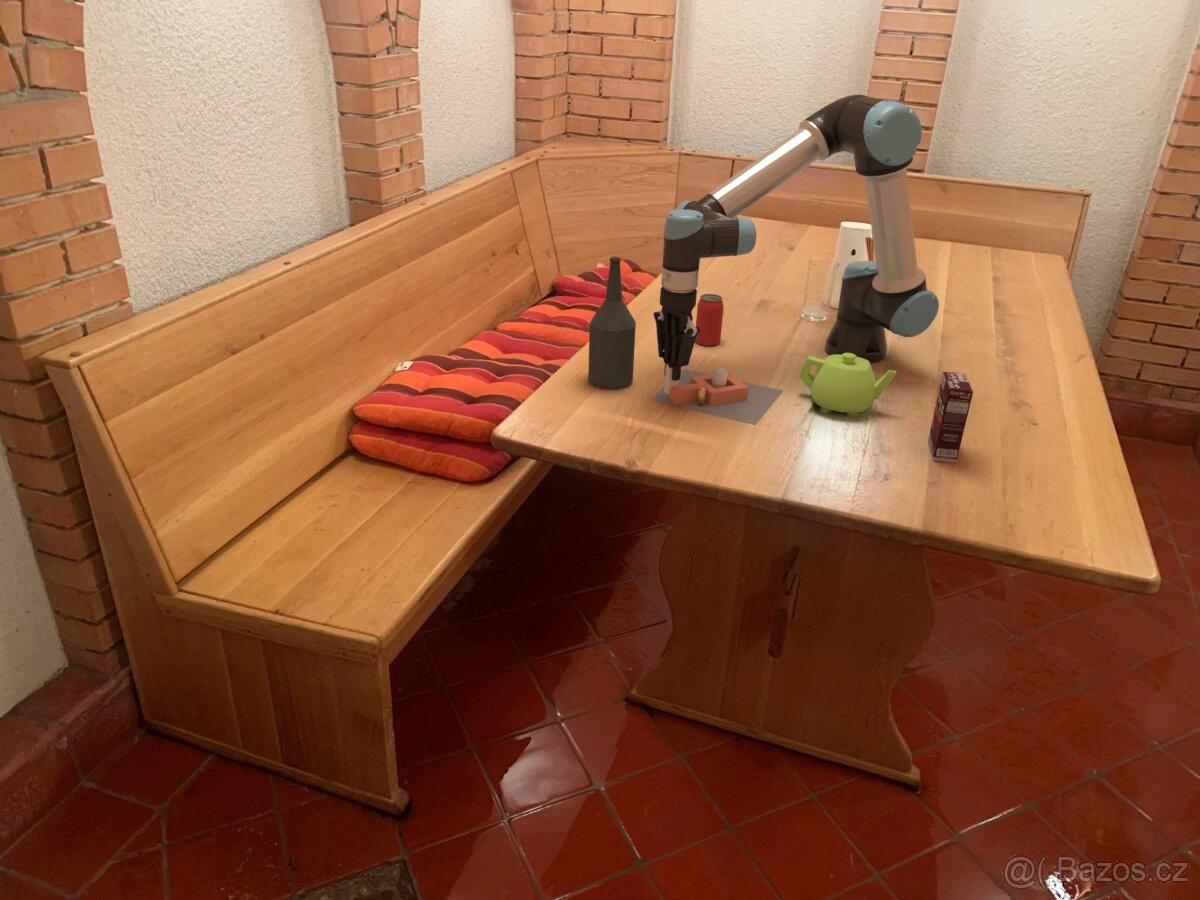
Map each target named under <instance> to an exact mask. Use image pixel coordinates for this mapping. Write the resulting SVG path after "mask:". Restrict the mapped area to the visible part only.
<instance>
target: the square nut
mask: <svg viewBox="0 0 1200 900" xmlns="http://www.w3.org/2000/svg"><path fill="white" fill-rule="evenodd" d="M707 374H708V375H702V376H696V377H691V381H690V385H683V386H677V387H671V388H670V397H669V400H670V401H671V402H672V403H673V404H674V405H675V404H681V403H687V402H693V401H698V390H699V387H700V386H703V387H706V396H705V402H706V403H707V404H709V405H710V406H714V405H720V404H725V403H731V402H737V401H743V400H747V395H748V387H747V386H746V385H745V384H743V383H742V382H743V381H742V382H740V381H741V380H739V379H737V378H736V377H735V376H733V375H732V374H730V372H727V382H726V387H721V388H714V387H713V386H711V385H712V374H713V373H707Z"/></svg>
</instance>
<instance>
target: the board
mask: <svg viewBox="0 0 1200 900" xmlns="http://www.w3.org/2000/svg"><path fill="white" fill-rule="evenodd" d="M727 372H728V369H727V368H725V367H720V366H718V367H713V369H712V373H711V374H712V385H711V386H713V387H714V388H721V387H726V382H727ZM728 373H729V372H728ZM708 374H709V373H704V372H701V371H700V372H699V371H695V370H692V369H691V370H690V369H687V368H684V369H683V370H681V375H680V380H679V385H678V386H683V385H690V381H691V377H696V376H702V375H708ZM739 381H740V382H742V383H743V384H745V385H746V386H747V387H748V395H747V400H743V401H737V402H731V403H725V404H720V405H714V406H710V405H709V404H707V403H706V402H705V405H704V406H698V405H697V401H693V402H687V403H681V404H675V405H674V404H673V403H672V402H671V401H670V400H669V397H670V394H667V393H665V392H664V387H662V388H661V389H660V390H659V391H658V392H657V393H655V395H654V396H652V397H651V398H650V399H649V401H652V402H657V403H660V404H665V405H669V406H673V407H677V408H682V409H687V410H690V411H694V412H699V413H703V414H707V415H712V416H715V417H719V418H720V417H721V418H724V419H729V420H732V421H737V422H740V423H741V422H742V423H745V424H750V425H755V426H756V425H757V424H758V423H759V422H760V420H761V419H762V418H763V416H764V415H765V414H766V413H767V412H768V410H769V409H770V408H771V407H772V406H773V404H774V403H775V402H776V401H777V399H779V397H780V396H781V394H782V393H783V392H784V390H783V389H778V388H775V387H768V386H764V385H759V384H756V383H750V382H746V381H742V380H739Z"/></svg>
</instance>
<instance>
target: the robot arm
mask: <svg viewBox="0 0 1200 900" xmlns="http://www.w3.org/2000/svg"><path fill="white" fill-rule="evenodd" d="M922 129H923V128H922V124H921V121H920V119H919V116H918V115H917V113H916V111H914V109H912V107H909V106H908V105H906V104H903V103H901V102H899V101H897V100H891V99H881V98H876V97H872V96H868V95H864V94H851V95H847V96H844V97H840V98H838V99H836V100H834V101H832V102H830V103H828V104H827V105H825V106H823V107H821V108H820V109H818V110H817V111H814V113H812V114H811V115H809V116H808V117H806V118H805V119H804V120H802V121H801V122H800V123H799V126H798V129H797V131H794V133H792V134H791V135H790V136H788V137H787V138H785V139H783V140H782V141H780V142H779V143H778V144H776V145H775V146H774V147H772V148H771V149H769V150H768V151H767V152H765V153H764V154H763V155H761V156H760V157H758V158H757V159H755V160H753V161H752V162H751V163H749V165H746V166H745V167H744V168H742V169H741V170H739V171H738V172H737V173H735V174H734V175H733V176H731V177H729V178H728V179H727V180H726V181H724V182H723V183H722V184H720V185H718V186H717V187H716V188H715V189H713V190H712V191H709V192H708V193H707V194H706V195H705V196H703V197H700V199H698V200H685V201H683V202H680V203H679V205H677V207H676V208H675V209H673V210H671V211H669V212H668V213H667V215H666V217H665V223H664V229H663V248H662V249H663V250H662V253H663V254H662V270H661V280H660V281H661V282H660V284H661V288H660V293H659V294H660V295H659V305H660V306H661V310H660V311H659V310H658V311H655V312H653V319H654V320H655V325H656V326H655V327H656V336H657V337H656V338H657V340H656V341H657V349H658V351H657V352H658V357H659V358H662V359H663V363H664V372H663V373H664V386H663V388H664V392H665V393H667V394H670V388H671V387H677V386H678V385H679V380H680V375H681V372H682V367H685V366H688V365H689V364H690V360H691V356H692V354H693V350H694V345H695V343H696V341H695V339H696V336H697V335H698V333H699V332H700V328H699V327H696V325H694V323H693V319H694V317H693V313H692V312H693V309H694V308H695V307H697V296H698V294H697V293H698V290H697V288H698V285H699V273H700V271H699V270H700V264H701V259H708V258H720V257H721V258H722V257H733V256H734V257H737V256H741V255H748V254H750V253H751V252H752V251H753V250H754V249H755V247H756V242H757V229H756V225H755V223H754V221H753V220H752V219H751V218H749V217H740V216H739V215H740V214H742V213H743V212H744V211H746V210H748V209H749V208H750V207H752V206H753V205H755V204H756V203H757V202H759V201H761V200H762V199H764V197H766V196H767V195H769V194H770V193H771V192H774V191H775V189H777V188H779V187H780V186H782V185H783V184H784V183H786V182H787V181H789V180H790V179H791V178H793V177H794V176H796V175H797V174H799V173H800V172H801V171H803V170H804V169H807V167H809V166H811V164H813V163H814V162H816V161H817V160H818V161H825V160H826V159H828V158H830V157H831V156H832V155H835V154H837V153H840V152H841V153H842V152H847V153H849V154H852V155H853V160H854V167H855V172H856V174H857V175H858V176H860V177H862V178H863V179H864V183H865V184H864V185H865V191H866V198H867V206H868V213H869V218H870V219H869V221H870V225H871V233H872V241H873V242H872V243H873V250H874V255H875V260H860V261H859V260H858V261H853V262H850V263H848V264H847V265H846V266H845V267H844V273H843V275H842V278H841V287H840V294H839V300H838V306H837V307H838V308H837V313H836V320H835V322H834V324H833V326H832V327H831V329H830V332H829V333H828V334H827V335H828V336H827V337H826V339H825V344H824V351H825V352H826V353H827V354H828V356H830V355H842V354H843V353H852V354H855V355H856V357H860V358H863V359H866V360H868V361H869V362H870V364H872V363H878V362H881V361H883V360H884V359H885V358H887V357H886V356H887V351H888V343H887V337H886V331H885V330H887V331H889V332H891V333H892V334H895V335H898V336H900V337H903V338H914V337H916V336H919V335H920V334H923V333H924V332H925V331H926V330H928V328H929V327H930V326H932V324H933V322H934V321H935V320H936V317H937V315H938V313H939V307H940V303H939V299H938V296H937V295H936V294H935V293H934V292H933V291H931V290H928V287H927V278H926V273H925V271H924V270H923V269H922V268H920V267H918V262H917V261H918V260H917V252H916V245H915V235H914V234H915V233H914V226H913V216H912V209H911V198H910V190H909V182H908V181H909V180H908V174H907V171H908V169H909V167H910V166H911V165H912V164H913V162H914V155H915V154H916V153H917V151H918V150H919V148H918V146H919V145H920V144H921V142H922V134H923V132H922V131H923V130H922Z"/></svg>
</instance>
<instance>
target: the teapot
mask: <svg viewBox="0 0 1200 900" xmlns="http://www.w3.org/2000/svg"><path fill="white" fill-rule="evenodd" d="M812 365H813V366H816V367H817V368H818V370H817V371H816V373H815V375H813V374H812V373H810V371H811V369H812ZM896 375H897V371H896V370H894V369H893V370H892V369H888V370H887V371H886V372H885V373H884V374H883V375H882V376H881V377H879V379H878V380H877V381H876V378H875V375H874V371H873V368H872V365H871V363H870V362H869V361H868V360H866V359H863V358H860V357H856V355H855V354H852V353H843V354H842V355H828V356H827V357H826V358H825V359H823V358H819V357H815V356H812V355H808V356H807V358H806V359H805V362H804V364H803V366H802V368H801V371H800V372H799V375H798V378H799V379H800V380H801V381H802V383H804V384H805V385H806V387H808V388H809V389H810V395H811V398H812V400H813V402H814V403H815V404H816V405H817V406H819V408H818V411H819V412H820V413H822V414H830V413H831V411H835V412H841V413H847V416H848V418H852V419H857V418H860V414H859V413H864V412H865V411H867V410H869V408H870V407H871V406H872V405H873V404H874V401H875V400H878V399H879V397H880V396H881V395H882V394H883V392H884V391H885V389H886V388H887V387H888V385H890V383H891V381H892V380H893V379H894V378H895V376H896Z"/></svg>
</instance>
